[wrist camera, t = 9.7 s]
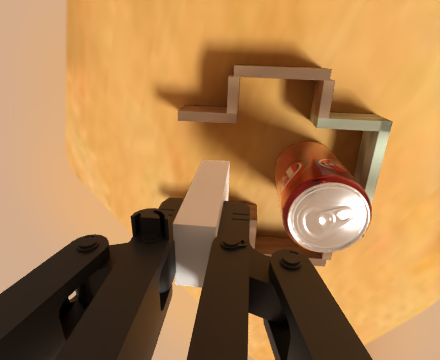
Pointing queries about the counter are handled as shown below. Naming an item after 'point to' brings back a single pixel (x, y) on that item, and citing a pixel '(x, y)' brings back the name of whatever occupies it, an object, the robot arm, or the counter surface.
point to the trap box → (321, 118)
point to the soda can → (320, 199)
